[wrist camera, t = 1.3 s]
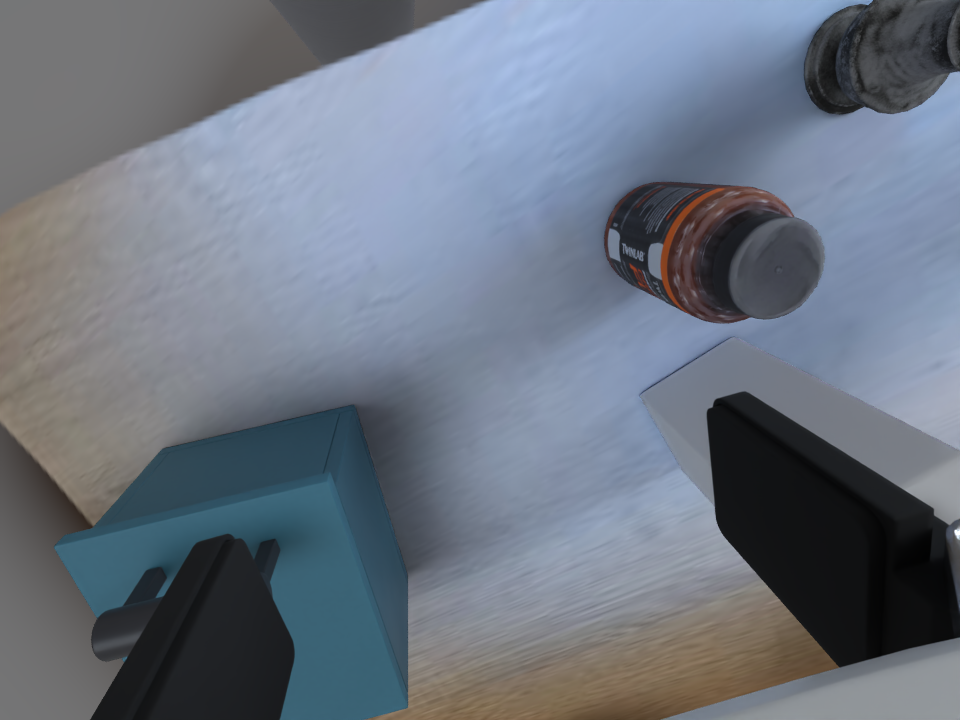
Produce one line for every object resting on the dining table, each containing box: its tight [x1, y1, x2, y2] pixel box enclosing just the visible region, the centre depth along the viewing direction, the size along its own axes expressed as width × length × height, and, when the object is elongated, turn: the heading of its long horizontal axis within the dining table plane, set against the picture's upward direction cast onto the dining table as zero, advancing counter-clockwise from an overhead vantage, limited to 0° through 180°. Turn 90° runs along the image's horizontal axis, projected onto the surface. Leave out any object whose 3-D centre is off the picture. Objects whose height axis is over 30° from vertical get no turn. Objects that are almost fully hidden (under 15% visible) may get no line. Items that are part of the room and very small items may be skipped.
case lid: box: [54, 472, 408, 720], centre depth 23 cm, size 14×12×5 cm
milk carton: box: [640, 337, 960, 525], centre depth 26 cm, size 7×7×19 cm
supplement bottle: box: [604, 182, 825, 323], centre depth 25 cm, size 6×6×11 cm
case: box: [92, 405, 408, 693], centre depth 30 cm, size 14×12×9 cm
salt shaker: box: [804, 0, 960, 114], centre depth 23 cm, size 6×6×12 cm
